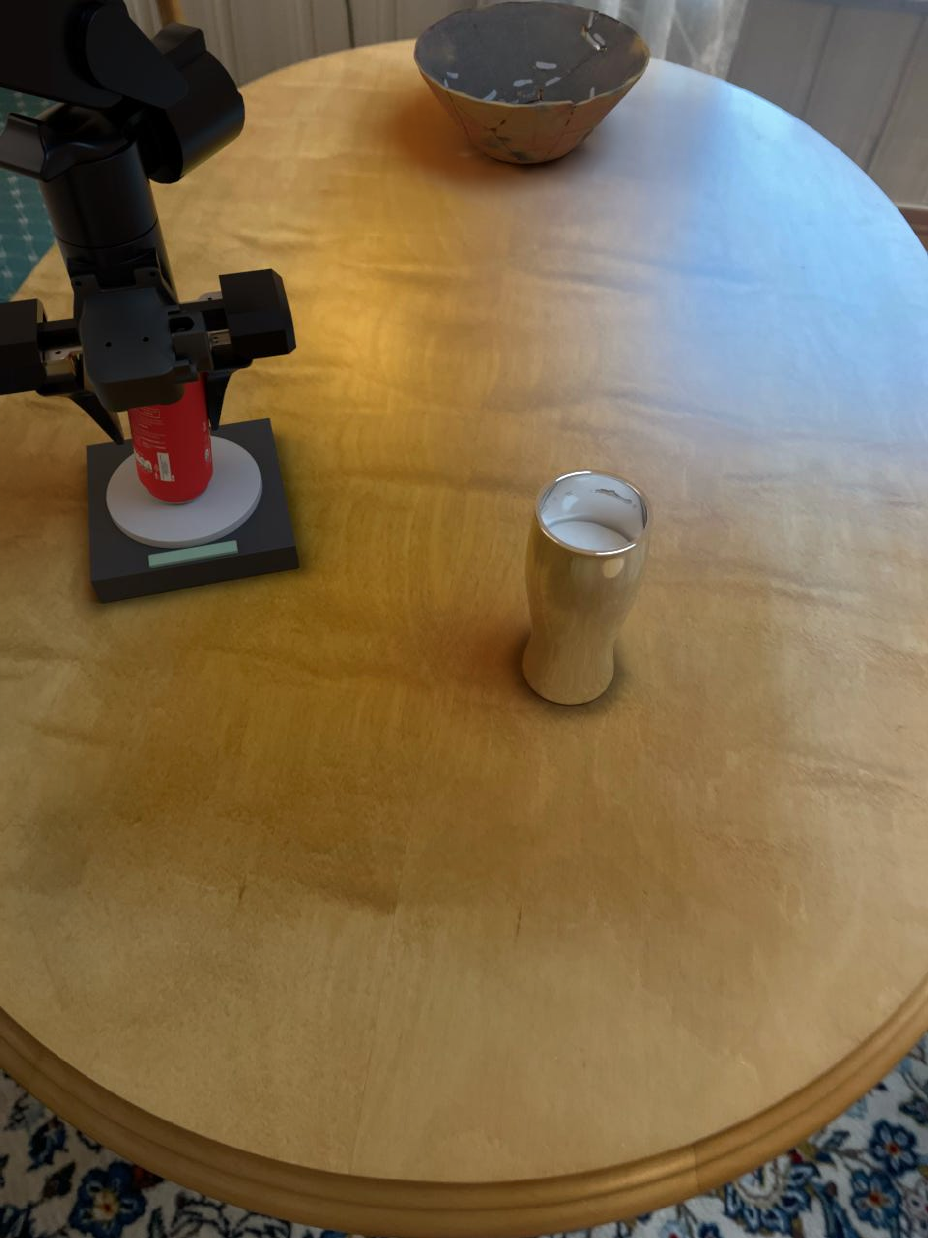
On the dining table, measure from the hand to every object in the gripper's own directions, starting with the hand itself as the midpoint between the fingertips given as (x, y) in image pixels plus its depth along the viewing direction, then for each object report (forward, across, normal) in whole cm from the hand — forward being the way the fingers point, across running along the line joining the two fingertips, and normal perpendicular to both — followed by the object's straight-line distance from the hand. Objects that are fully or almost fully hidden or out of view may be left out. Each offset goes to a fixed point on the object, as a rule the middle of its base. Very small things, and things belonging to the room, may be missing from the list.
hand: (168, 434), depth 67 cm
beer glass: (+8, +23, -20) cm, 32 cm away
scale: (+8, 0, 0) cm, 8 cm away
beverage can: (+5, 0, 0) cm, 5 cm away
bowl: (+8, +41, +50) cm, 65 cm away
